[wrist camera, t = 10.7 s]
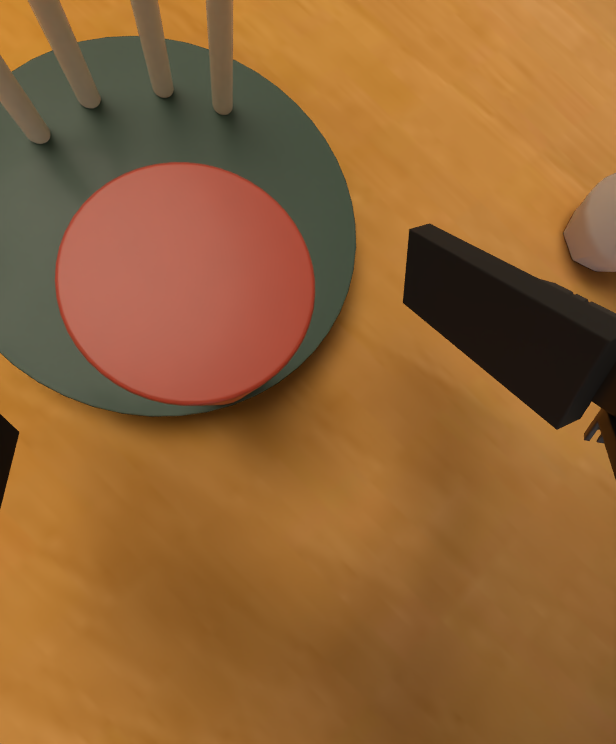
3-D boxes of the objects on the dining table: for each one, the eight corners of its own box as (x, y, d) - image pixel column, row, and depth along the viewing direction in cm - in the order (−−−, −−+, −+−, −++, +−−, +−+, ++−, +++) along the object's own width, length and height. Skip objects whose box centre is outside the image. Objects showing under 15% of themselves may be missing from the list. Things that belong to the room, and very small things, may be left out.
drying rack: (-91, 92, 15) (-1454, -1231, 3) (284, 47, 19) (384, -609, 7) (35, 473, 15) (-881, 793, 3) (390, 350, 19) (695, 246, 6)
